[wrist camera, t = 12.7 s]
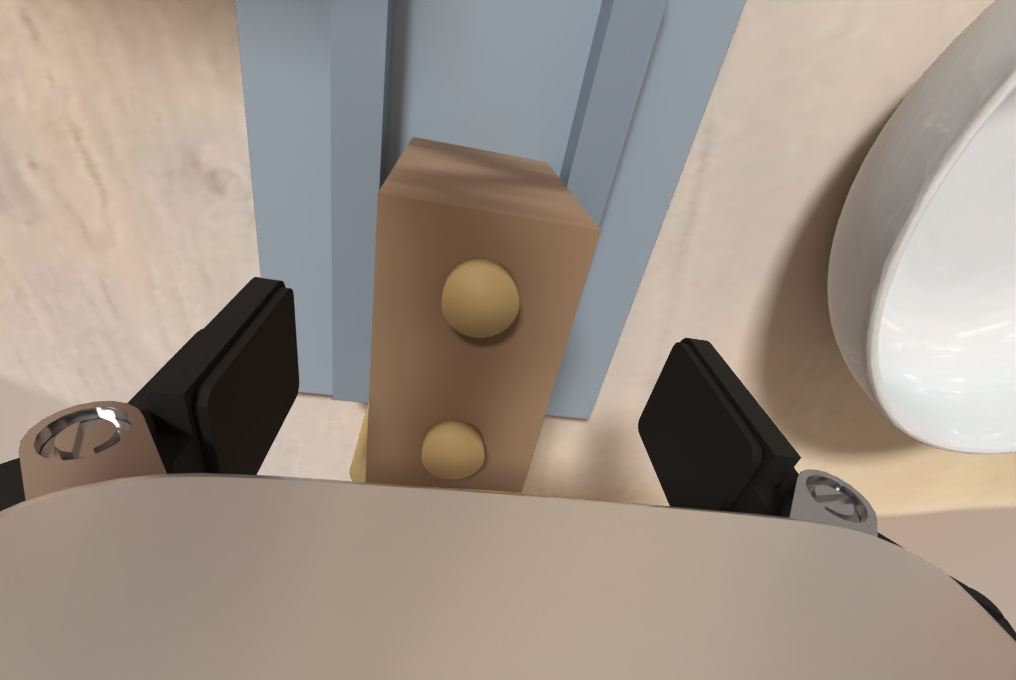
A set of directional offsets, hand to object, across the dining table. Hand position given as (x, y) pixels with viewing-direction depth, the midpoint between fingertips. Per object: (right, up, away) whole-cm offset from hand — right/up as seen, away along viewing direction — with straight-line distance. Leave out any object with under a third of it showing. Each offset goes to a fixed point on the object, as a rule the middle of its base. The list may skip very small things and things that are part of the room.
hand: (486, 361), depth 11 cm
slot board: (-1, +6, +8) cm, 10 cm away
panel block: (-1, +4, +8) cm, 9 cm away
